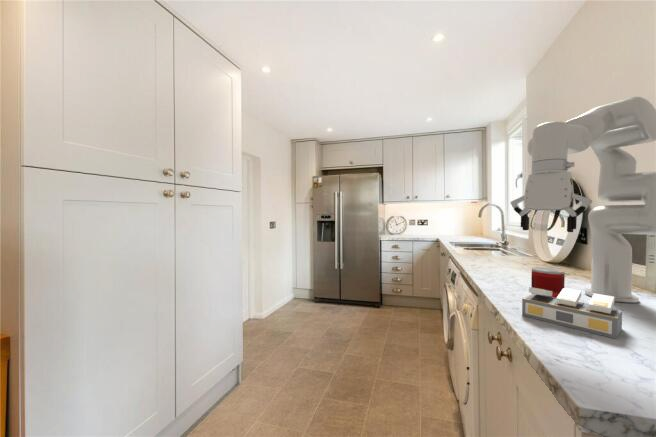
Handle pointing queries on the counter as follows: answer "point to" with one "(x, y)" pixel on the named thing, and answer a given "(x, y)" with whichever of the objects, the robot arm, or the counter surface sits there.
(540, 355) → the counter surface
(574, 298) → the rocker
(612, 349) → the counter surface
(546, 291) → the rocker
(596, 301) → the rocker
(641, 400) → the counter surface
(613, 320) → the switch unit
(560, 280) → the canned food
